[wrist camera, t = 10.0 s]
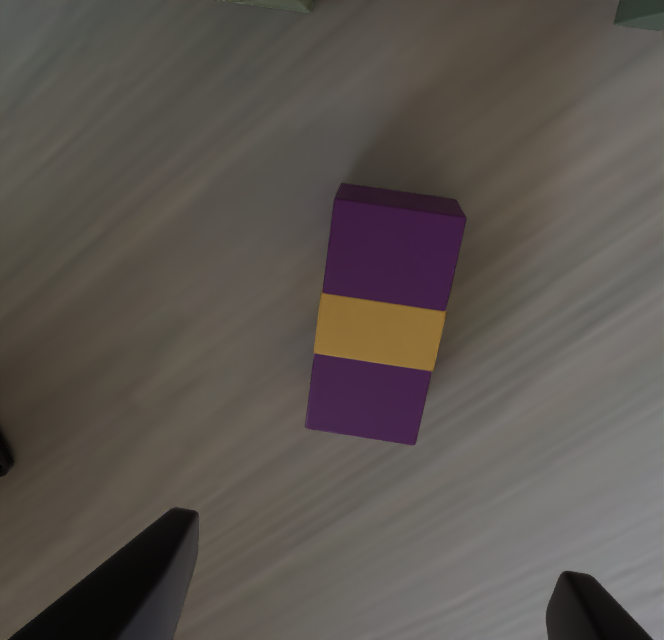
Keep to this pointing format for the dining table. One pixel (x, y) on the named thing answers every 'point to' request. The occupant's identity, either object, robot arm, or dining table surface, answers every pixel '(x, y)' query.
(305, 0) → the cabinet
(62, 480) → the dining table surface
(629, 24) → the drawer
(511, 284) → the dining table surface
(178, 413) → the dining table surface
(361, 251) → the chocolate bar
